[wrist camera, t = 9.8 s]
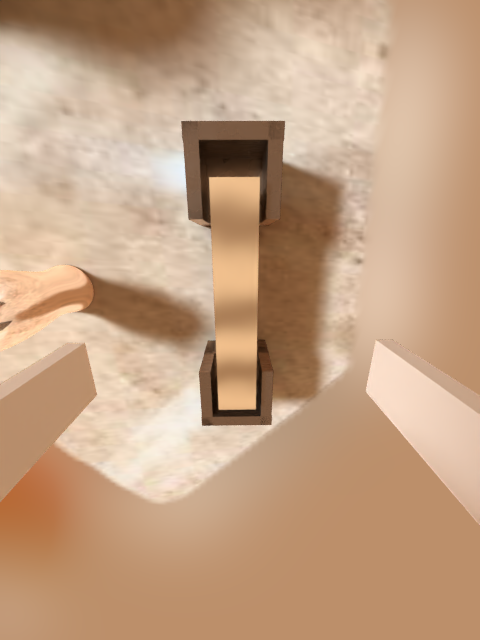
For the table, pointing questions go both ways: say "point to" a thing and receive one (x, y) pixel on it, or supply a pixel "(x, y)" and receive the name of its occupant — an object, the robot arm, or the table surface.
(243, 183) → the rail
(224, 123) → the brackets
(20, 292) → the shiny metal tumbler
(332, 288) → the table surface
